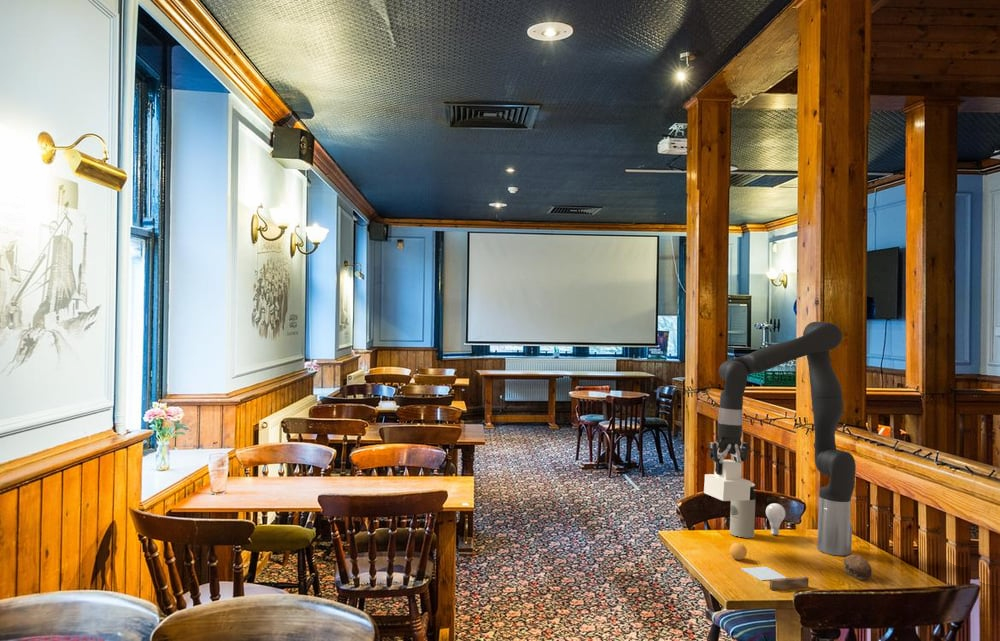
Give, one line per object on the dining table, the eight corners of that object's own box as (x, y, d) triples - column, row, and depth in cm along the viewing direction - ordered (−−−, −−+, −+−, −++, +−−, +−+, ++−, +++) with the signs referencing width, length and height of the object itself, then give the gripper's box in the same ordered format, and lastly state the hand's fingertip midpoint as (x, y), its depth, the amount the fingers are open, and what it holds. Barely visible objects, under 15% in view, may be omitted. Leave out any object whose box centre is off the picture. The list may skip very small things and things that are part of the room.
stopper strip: (805, 585, 184) (805, 576, 184) (808, 587, 183) (808, 578, 183) (769, 588, 181) (769, 579, 181) (772, 590, 180) (772, 581, 180)
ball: (739, 556, 206) (740, 540, 207) (749, 561, 202) (750, 545, 202) (725, 557, 205) (726, 540, 205) (736, 562, 200) (736, 546, 200)
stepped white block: (729, 492, 219) (731, 458, 219) (749, 500, 209) (751, 464, 209) (703, 492, 216) (705, 458, 216) (723, 501, 206) (725, 465, 206)
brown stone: (833, 558, 198) (847, 546, 195) (856, 569, 198) (870, 556, 195) (842, 580, 191) (856, 567, 188) (865, 590, 191) (880, 578, 188)
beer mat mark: (766, 567, 197) (766, 566, 197) (787, 578, 189) (787, 577, 189) (740, 569, 195) (740, 568, 195) (760, 580, 186) (760, 580, 186)
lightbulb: (786, 538, 226) (787, 506, 226) (766, 536, 227) (768, 505, 227) (782, 533, 232) (783, 502, 232) (763, 531, 234) (764, 500, 234)
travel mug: (748, 531, 232) (750, 480, 233) (757, 539, 224) (759, 486, 225) (726, 531, 232) (728, 480, 232) (734, 538, 224) (736, 485, 224)
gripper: (741, 420, 219) (738, 471, 219) (704, 420, 214) (701, 472, 214) (756, 424, 212) (753, 476, 211) (718, 424, 207) (715, 477, 207)
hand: (727, 474), depth 213 cm, fingers closed on stepped white block, 5 cm apart
